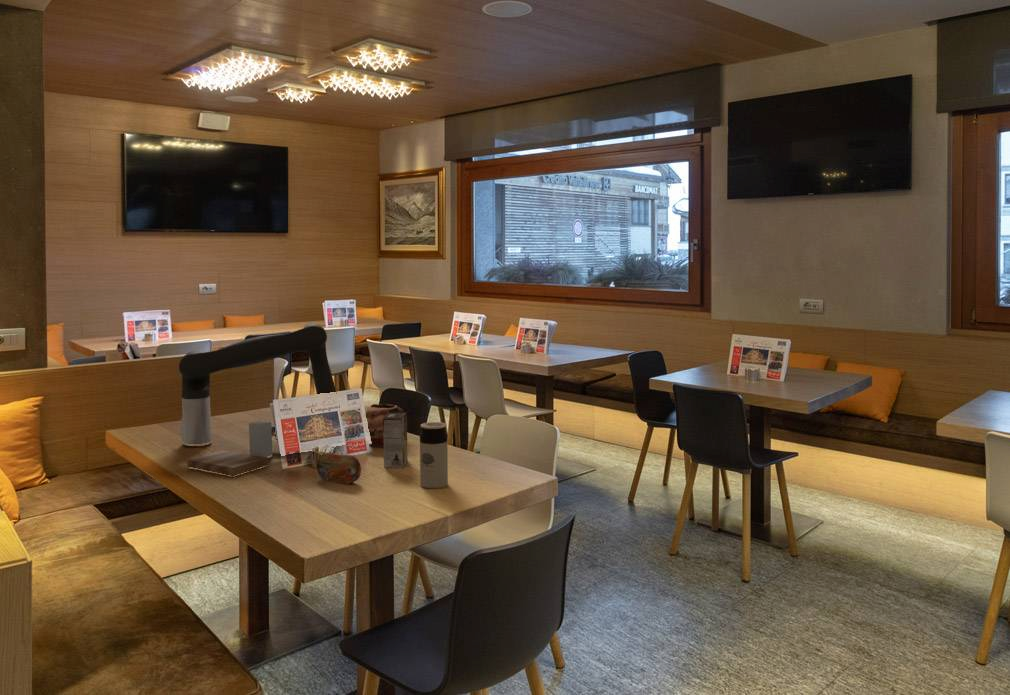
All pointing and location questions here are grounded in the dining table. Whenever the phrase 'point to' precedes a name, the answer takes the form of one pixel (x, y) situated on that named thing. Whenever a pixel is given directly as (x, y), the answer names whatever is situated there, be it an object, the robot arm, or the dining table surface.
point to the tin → (338, 468)
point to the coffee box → (395, 439)
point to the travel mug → (433, 455)
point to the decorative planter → (379, 421)
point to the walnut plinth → (228, 462)
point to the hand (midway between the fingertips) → (266, 435)
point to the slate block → (260, 438)
